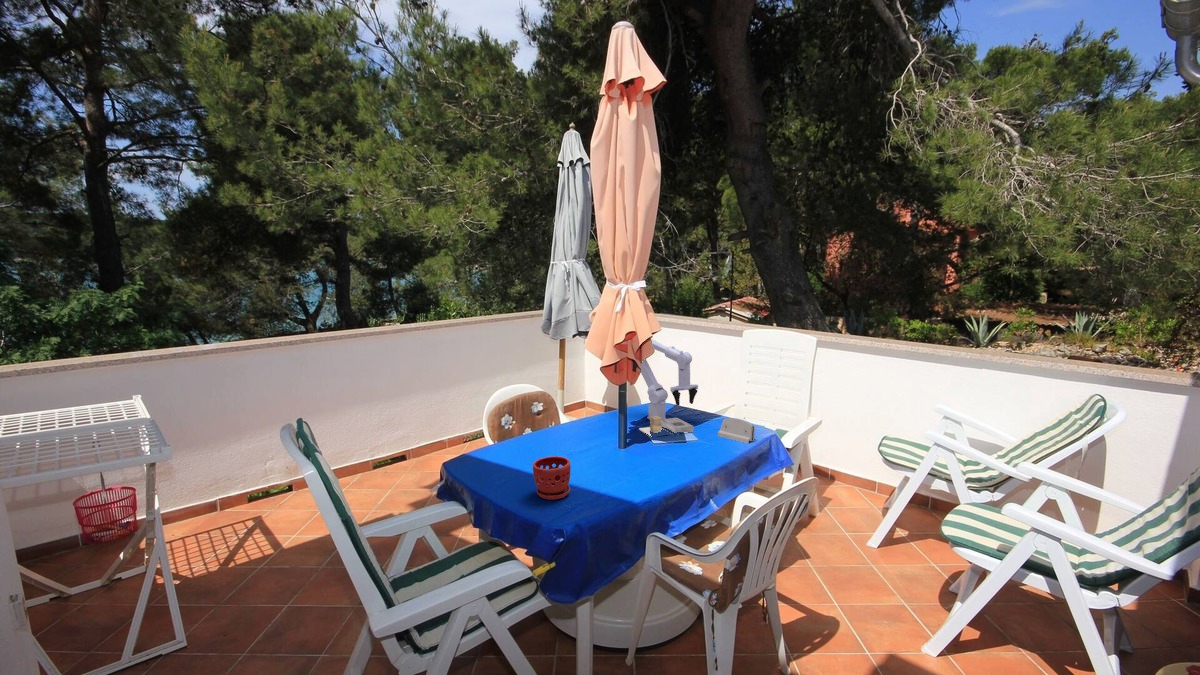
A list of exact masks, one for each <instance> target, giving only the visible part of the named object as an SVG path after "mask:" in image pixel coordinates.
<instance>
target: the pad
mask: <svg viewBox="0 0 1200 675" xmlns="http://www.w3.org/2000/svg"><path fill="white" fill-rule="evenodd" d="M638 430H639V431H640V432H642V433H644V434H645V433H646V434H645V435H647V434H648V435H649V436H648V435H647V436H648V437H650V436H651V434H650V426H647V427H640V428H638ZM651 437H652V436H651ZM651 437H650V438H651Z"/></svg>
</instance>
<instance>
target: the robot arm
mask: <svg viewBox="0 0 1200 675" xmlns="http://www.w3.org/2000/svg"><path fill="white" fill-rule="evenodd" d="M652 343H653V347H654V349H653V350H656V351H658V352H659V353H663V354H664V356H665V357H666V358H668V359H670V360H672V361H674V362H676V364H677V366H678V371H677V372H678V373H677V374H678V385H675V386H671V387H669V388H670V392H671V394H672V395H673V399H674V402H675V405H676V406H678V407H679V406H680V403H681V402H680V398H681V391H688V395H689V397H688V398H689V404H691V405H693V404H694V401H695V400H694V399H695V397H696V395H697V393H698V390H699V384H691V363H692V361H693V357H692V355H691V353H690V352H687V351H686V352H684V350H679V349H677V348H676V346H674V345H673V346H672V345H671V346H666V345H664V344H662V343H660V342H658V341H656V340H655V339H653V338H652ZM640 374H641V376H642V377H643V379H644V381H645V384H646V386H647V387H648V389H647V391H646V392H647V395H648V400H649V404H648V416H647V417H646V418H647V419H648V420H650V417H653V416H659V417H660V418H662V419H667V418H666V400H668V397H669V393H668V391H667V390H666V389H665V388H664V387H663V385H662V384H660V383H659V382H658V381H657V380H658V379H657V378H656V376H655V374H654V372H653V370H652V368H651V366H650V364H649V362H648V360H647V358H646V359H645V360H643V362H642V364H641V372H640Z"/></svg>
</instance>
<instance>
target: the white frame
mask: <svg viewBox="0 0 1200 675" xmlns="http://www.w3.org/2000/svg"><path fill="white" fill-rule="evenodd" d="M662 427H664V428H667V429H669V430H671V431H672V432H674V433H677V432H692V433H694V425H692V424H691V423H688V422H686V421H684V420H683V419H680V418H679V417H670V418H666V419H662ZM664 428H663V429H664Z"/></svg>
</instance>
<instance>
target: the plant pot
mask: <svg viewBox="0 0 1200 675" xmlns="http://www.w3.org/2000/svg"><path fill="white" fill-rule="evenodd" d="M553 465H555V466H553ZM560 465H561V466H560ZM547 467H548V468H547ZM532 474H533V478H534V483H535V486H536V487H537V489H536V494H537V496H539V497H540V498H542V499H545V500H550V501H554V500H559V499H562V498H564V497H566V496H568V494H569V493H570V492H571V486H569V484H570V479H571V460H570V459H569V458H567V457H564V456H558V455H555V456H545V457H542V458H538V459H537V460H535V461H534V462H533V463H532Z"/></svg>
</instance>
